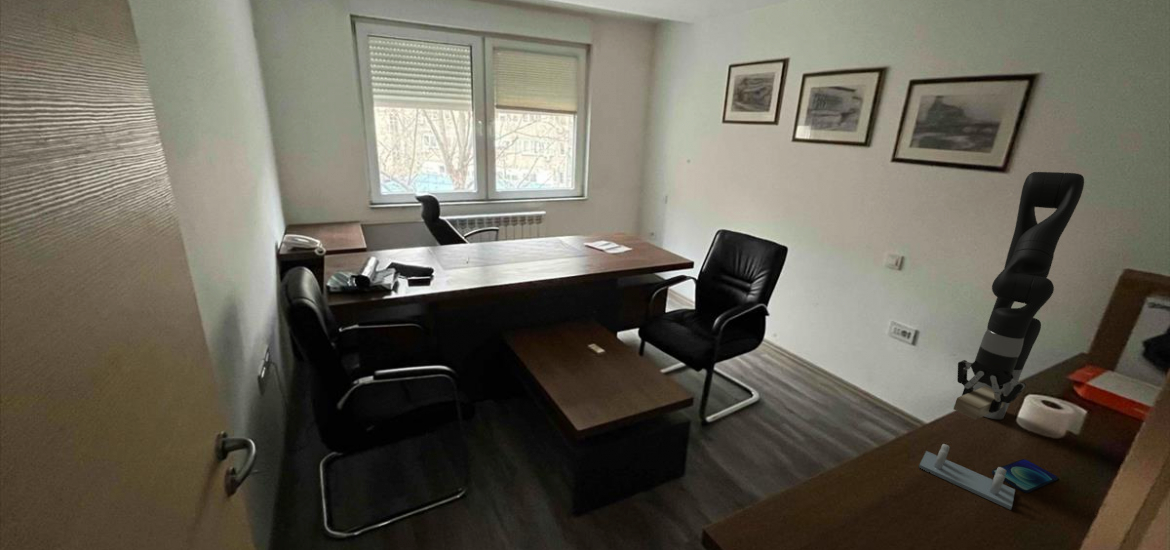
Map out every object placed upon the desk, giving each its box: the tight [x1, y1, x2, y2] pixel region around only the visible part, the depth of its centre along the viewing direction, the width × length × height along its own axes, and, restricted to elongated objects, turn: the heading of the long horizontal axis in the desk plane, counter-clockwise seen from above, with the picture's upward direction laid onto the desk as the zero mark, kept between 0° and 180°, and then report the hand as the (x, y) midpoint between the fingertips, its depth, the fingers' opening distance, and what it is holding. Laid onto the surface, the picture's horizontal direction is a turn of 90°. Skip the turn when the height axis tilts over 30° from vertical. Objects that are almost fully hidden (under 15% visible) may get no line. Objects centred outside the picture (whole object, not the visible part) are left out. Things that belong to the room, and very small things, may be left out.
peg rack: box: [918, 443, 1016, 511], centre depth 113 cm, size 18×8×6 cm, turn 44°
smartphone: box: [991, 458, 1059, 494], centre depth 116 cm, size 8×1×15 cm
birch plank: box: [953, 386, 1007, 421], centre depth 120 cm, size 14×5×4 cm, turn 116°
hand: (979, 405), depth 120 cm, fingers closed on birch plank, 5 cm apart
